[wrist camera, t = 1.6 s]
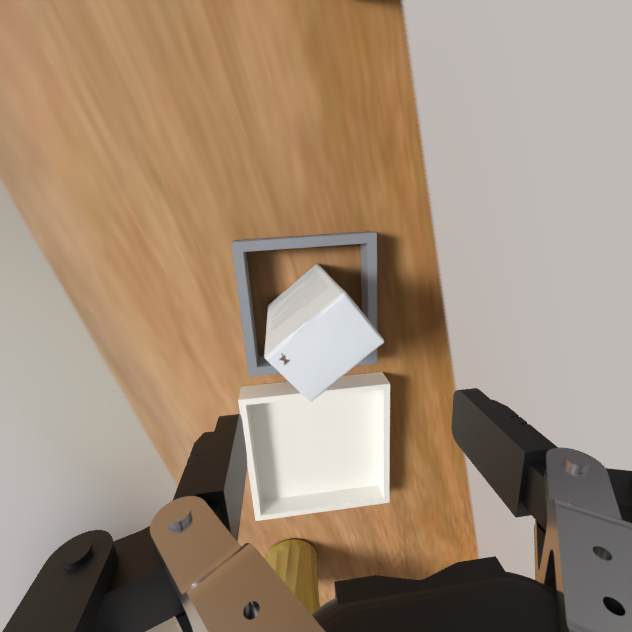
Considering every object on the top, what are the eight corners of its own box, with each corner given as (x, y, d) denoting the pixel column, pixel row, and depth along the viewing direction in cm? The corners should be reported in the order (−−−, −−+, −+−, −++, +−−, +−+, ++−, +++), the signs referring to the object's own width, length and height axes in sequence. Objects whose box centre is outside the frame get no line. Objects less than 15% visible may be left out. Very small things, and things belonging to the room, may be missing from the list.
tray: (241, 386, 32) (238, 399, 30) (382, 371, 33) (390, 383, 31) (257, 501, 36) (255, 521, 34) (382, 484, 37) (389, 502, 35)
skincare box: (297, 337, 31) (308, 406, 20) (267, 304, 30) (259, 357, 19) (347, 296, 31) (388, 343, 19) (318, 261, 29) (343, 288, 18)
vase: (327, 551, 39) (353, 727, 26) (295, 584, 40) (303, 770, 27) (287, 529, 38) (291, 705, 24) (254, 564, 39) (241, 752, 25)
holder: (235, 240, 28) (231, 242, 26) (368, 231, 29) (376, 232, 27) (251, 364, 32) (248, 376, 29) (370, 352, 33) (377, 363, 30)
